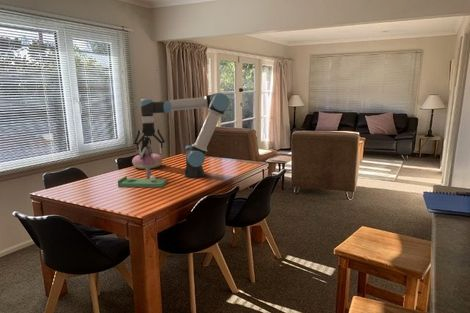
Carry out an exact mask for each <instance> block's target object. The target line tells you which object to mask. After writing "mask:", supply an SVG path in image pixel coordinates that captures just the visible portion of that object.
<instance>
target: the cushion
mask: <svg viewBox="0 0 470 313" xmlns="http://www.w3.org/2000/svg"><path fill="white" fill-rule="evenodd" d="M152 154H153V156H152V158H153V160H154V163H155V164H154V165H153V166H150V170H151V169H155V168H158V167H160V166H161V165H162V163H163V161H164V160H163V157H162V156H161V155H160V154H158V153H152ZM138 159H139V160H138ZM142 162H143V160H142V159H140V155H139V154H137V155H135V156H134V157H133V158H132V160H131V163H132V165H133V166H134V167H135V168H136V169H141V170H146V166H142V165H141V164H142Z"/></svg>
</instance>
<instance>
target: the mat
mask: <svg viewBox="0 0 470 313" xmlns="http://www.w3.org/2000/svg"><path fill="white" fill-rule="evenodd" d="M166 184H168V179H166V178H156V180H155V181H151V180H150V178H128V177H127V176H126V175H125V176H123V177H122V178H120V179H119V180H117V187H118V188H120V187H121V188H124V187H125V188H163V187H164V186H165V185H166Z"/></svg>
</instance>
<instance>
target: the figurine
mask: <svg viewBox="0 0 470 313" xmlns="http://www.w3.org/2000/svg"><path fill="white" fill-rule="evenodd" d="M151 144H152V140H151V137H150V136H145V137H144V138H143V139H142V141H141V146H140V148H141V155H140V159H142V160H143V162H142V164H141V165H142V166H146V169H145V174H146V178H150V176H152V175H153V174H152V172H151V169H150V166H153V165H154V164H155V163H154V160H153V158H152V156H153V154H155V150H153V148H152V147H151ZM138 160H139V159H138Z"/></svg>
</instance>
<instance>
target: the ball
mask: <svg viewBox="0 0 470 313" xmlns="http://www.w3.org/2000/svg"><path fill="white" fill-rule="evenodd" d="M149 179H150V180H151V181H155V180H156V179H157V178H156V175H154V174H152V176H150V177H149Z"/></svg>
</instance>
